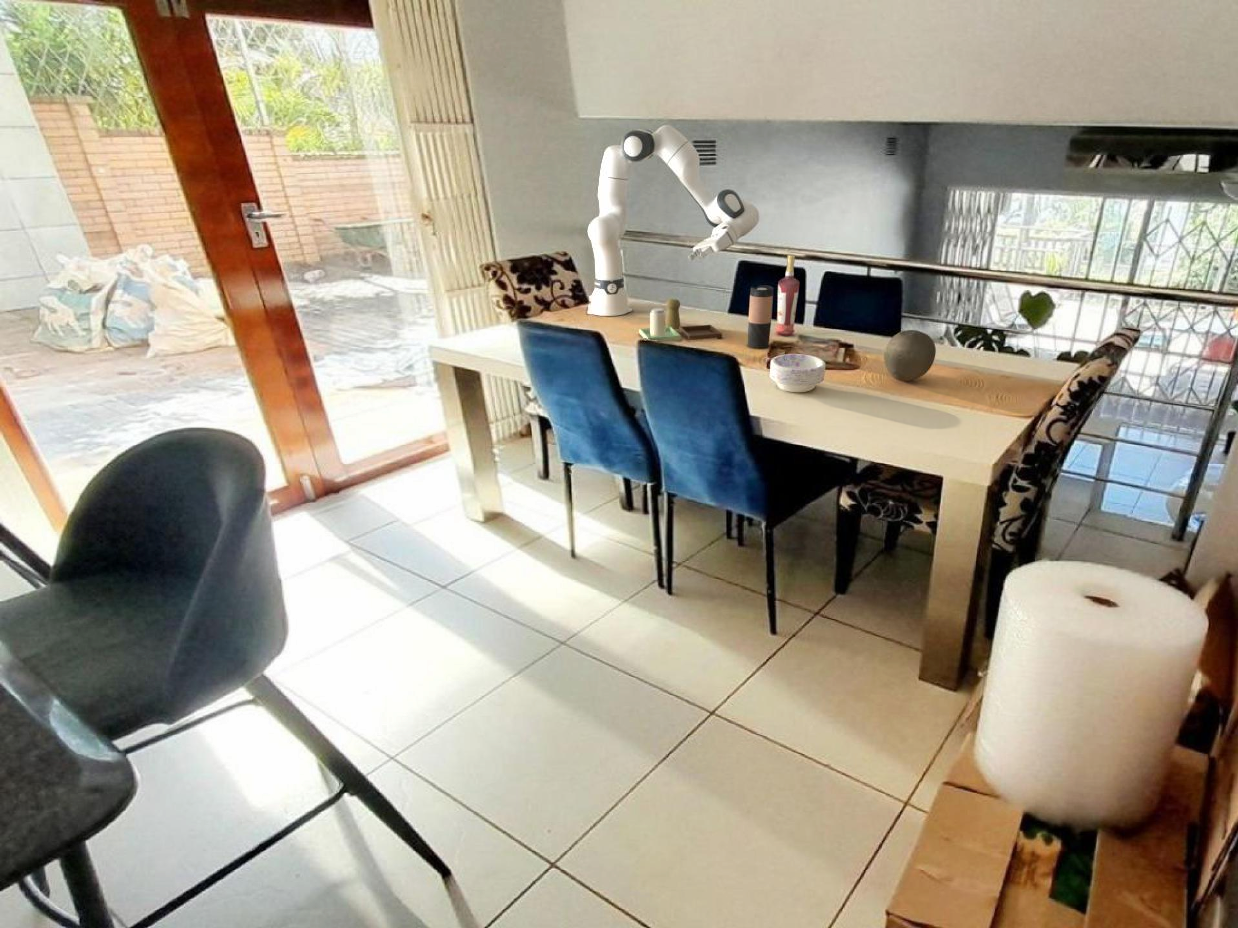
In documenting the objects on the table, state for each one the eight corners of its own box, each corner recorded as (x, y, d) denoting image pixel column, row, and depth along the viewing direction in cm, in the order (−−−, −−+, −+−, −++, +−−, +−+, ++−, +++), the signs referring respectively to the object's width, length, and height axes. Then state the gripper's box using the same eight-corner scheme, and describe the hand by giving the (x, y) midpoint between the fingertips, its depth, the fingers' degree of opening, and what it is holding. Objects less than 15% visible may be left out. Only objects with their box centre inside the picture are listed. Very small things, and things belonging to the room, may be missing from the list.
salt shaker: (648, 335, 256) (648, 308, 252) (663, 334, 257) (663, 307, 253) (652, 339, 252) (652, 311, 247) (667, 338, 252) (667, 310, 248)
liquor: (796, 336, 253) (804, 256, 241) (776, 337, 253) (782, 257, 241) (792, 331, 260) (799, 253, 248) (772, 332, 260) (778, 254, 248)
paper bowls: (798, 400, 193) (801, 372, 190) (757, 386, 205) (759, 360, 201) (834, 388, 201) (837, 362, 198) (793, 376, 213) (795, 350, 209)
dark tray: (679, 332, 262) (679, 326, 261) (710, 329, 264) (710, 324, 263) (689, 341, 250) (689, 335, 250) (721, 338, 253) (722, 333, 252)
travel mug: (767, 349, 239) (772, 290, 230) (745, 348, 241) (748, 289, 232) (770, 343, 245) (775, 286, 237) (748, 342, 248) (752, 285, 239)
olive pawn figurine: (662, 328, 268) (662, 299, 264) (675, 326, 270) (676, 297, 266) (669, 331, 263) (670, 302, 259) (683, 329, 266) (684, 300, 261)
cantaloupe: (872, 375, 212) (878, 326, 206) (917, 373, 213) (925, 324, 206) (891, 390, 199) (899, 338, 193) (940, 388, 200) (949, 336, 194)
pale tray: (639, 334, 261) (639, 329, 260) (671, 332, 263) (671, 326, 262) (647, 343, 249) (647, 338, 248) (680, 341, 251) (680, 335, 250)
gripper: (707, 232, 272) (679, 252, 270) (731, 225, 253) (702, 247, 251) (715, 246, 274) (688, 266, 272) (739, 241, 255) (710, 262, 253)
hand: (694, 257), depth 262 cm, fingers open, 8 cm apart
